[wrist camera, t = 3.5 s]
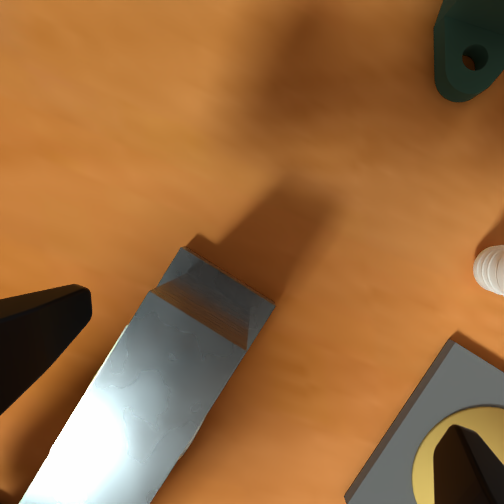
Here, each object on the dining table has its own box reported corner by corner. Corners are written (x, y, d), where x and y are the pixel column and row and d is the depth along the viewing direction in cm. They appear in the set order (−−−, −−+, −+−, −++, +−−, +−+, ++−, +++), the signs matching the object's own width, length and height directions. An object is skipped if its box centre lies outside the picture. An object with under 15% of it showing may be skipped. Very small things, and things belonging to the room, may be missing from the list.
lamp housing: (165, 473, 19) (110, 616, 12) (78, 420, 18) (-31, 531, 11) (274, 302, 18) (286, 342, 11) (185, 246, 18) (139, 251, 11)
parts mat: (502, 594, 19) (513, 610, 18) (344, 496, 18) (347, 508, 18) (610, 440, 18) (627, 449, 17) (448, 339, 18) (457, 343, 17)
